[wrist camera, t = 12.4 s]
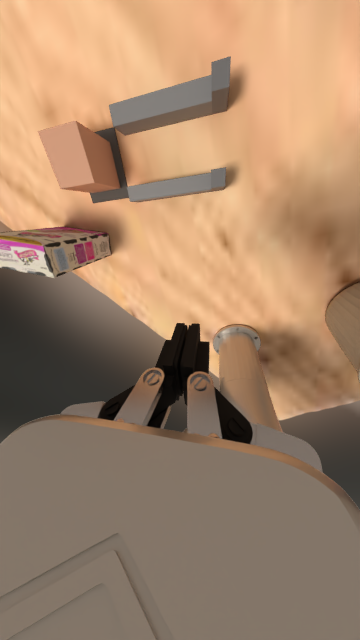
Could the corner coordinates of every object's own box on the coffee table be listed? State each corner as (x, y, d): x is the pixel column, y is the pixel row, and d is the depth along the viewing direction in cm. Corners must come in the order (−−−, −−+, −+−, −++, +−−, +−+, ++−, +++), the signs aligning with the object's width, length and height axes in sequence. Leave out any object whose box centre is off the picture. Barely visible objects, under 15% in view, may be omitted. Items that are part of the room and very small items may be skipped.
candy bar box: (108, 231, 35) (43, 244, 22) (112, 255, 38) (56, 280, 25) (62, 224, 36) (-28, 233, 23) (69, 248, 39) (-8, 268, 26)
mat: (129, 197, 31) (129, 197, 31) (93, 203, 32) (93, 203, 32) (114, 127, 26) (113, 127, 26) (72, 138, 27) (72, 138, 27)
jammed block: (120, 188, 30) (94, 182, 23) (92, 193, 31) (60, 188, 25) (109, 142, 27) (75, 120, 20) (79, 149, 28) (37, 131, 21)
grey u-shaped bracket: (223, 189, 28) (225, 186, 23) (137, 202, 31) (124, 201, 26) (227, 87, 22) (230, 56, 17) (120, 116, 25) (100, 96, 20)
